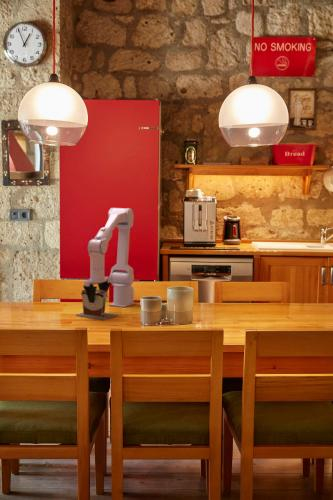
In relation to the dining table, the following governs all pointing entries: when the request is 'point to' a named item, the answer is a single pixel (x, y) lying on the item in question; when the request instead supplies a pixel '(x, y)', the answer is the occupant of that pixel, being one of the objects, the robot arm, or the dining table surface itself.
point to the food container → (97, 306)
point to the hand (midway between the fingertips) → (97, 301)
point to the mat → (106, 316)
